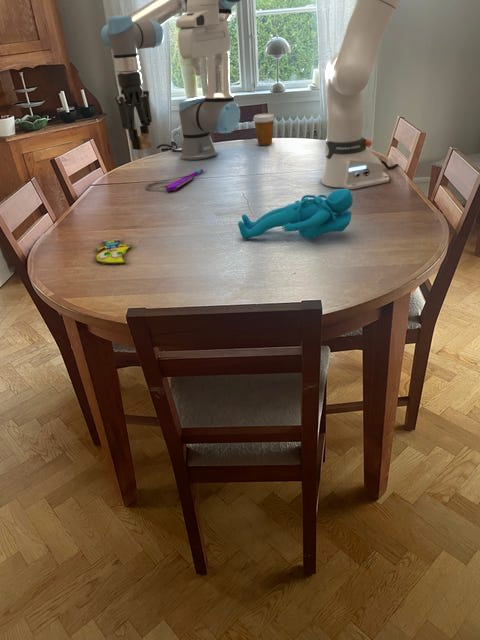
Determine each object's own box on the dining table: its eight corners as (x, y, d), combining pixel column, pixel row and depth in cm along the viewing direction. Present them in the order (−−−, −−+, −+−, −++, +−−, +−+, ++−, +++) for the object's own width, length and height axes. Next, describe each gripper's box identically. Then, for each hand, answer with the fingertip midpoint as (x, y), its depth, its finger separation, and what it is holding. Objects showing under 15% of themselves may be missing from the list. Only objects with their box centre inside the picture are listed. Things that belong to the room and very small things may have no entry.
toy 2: (244, 202, 136) (351, 176, 125) (255, 236, 141) (358, 213, 131) (231, 226, 122) (349, 198, 112) (243, 263, 127) (358, 239, 117)
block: (141, 146, 169) (138, 132, 166) (151, 147, 167) (149, 133, 164) (132, 149, 166) (130, 135, 164) (142, 150, 164) (140, 136, 161)
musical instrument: (142, 197, 170) (197, 185, 167) (141, 191, 169) (195, 179, 166) (155, 181, 191) (204, 170, 188) (154, 176, 190) (202, 165, 187)
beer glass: (276, 145, 214) (274, 116, 208) (254, 146, 215) (253, 118, 208) (274, 140, 222) (273, 112, 216) (254, 141, 223) (252, 114, 216)
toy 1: (135, 237, 135) (125, 260, 122) (135, 240, 135) (125, 263, 123) (99, 239, 135) (85, 263, 122) (100, 242, 135) (86, 266, 123)
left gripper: (138, 69, 161) (150, 141, 174) (100, 75, 150) (115, 152, 162) (155, 68, 158) (166, 142, 170) (117, 75, 146) (131, 154, 158)
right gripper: (216, 16, 143) (220, 68, 151) (172, 21, 130) (179, 78, 137) (233, 15, 140) (237, 68, 148) (190, 19, 126) (196, 78, 134)
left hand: (141, 147), depth 166 cm, fingers closed on block, 4 cm apart
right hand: (209, 73), depth 142 cm, fingers open, 8 cm apart
